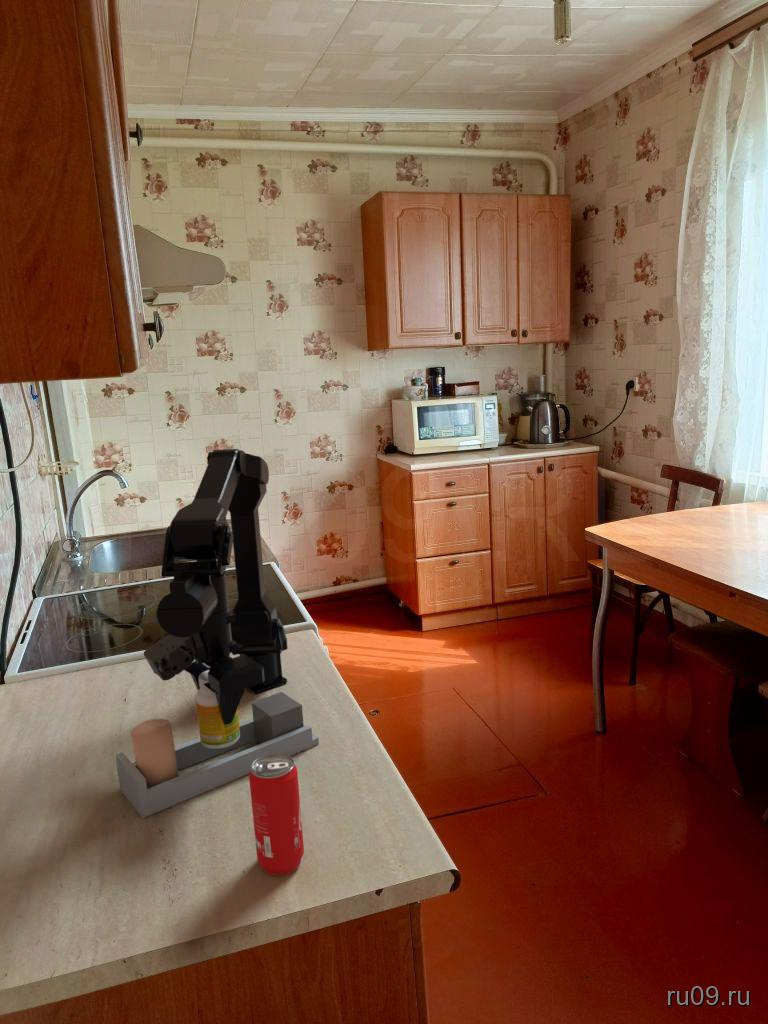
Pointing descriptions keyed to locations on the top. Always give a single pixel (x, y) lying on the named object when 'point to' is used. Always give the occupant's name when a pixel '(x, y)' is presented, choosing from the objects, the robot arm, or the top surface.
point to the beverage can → (276, 813)
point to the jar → (155, 751)
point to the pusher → (276, 717)
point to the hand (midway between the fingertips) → (218, 716)
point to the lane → (204, 768)
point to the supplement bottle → (214, 719)
